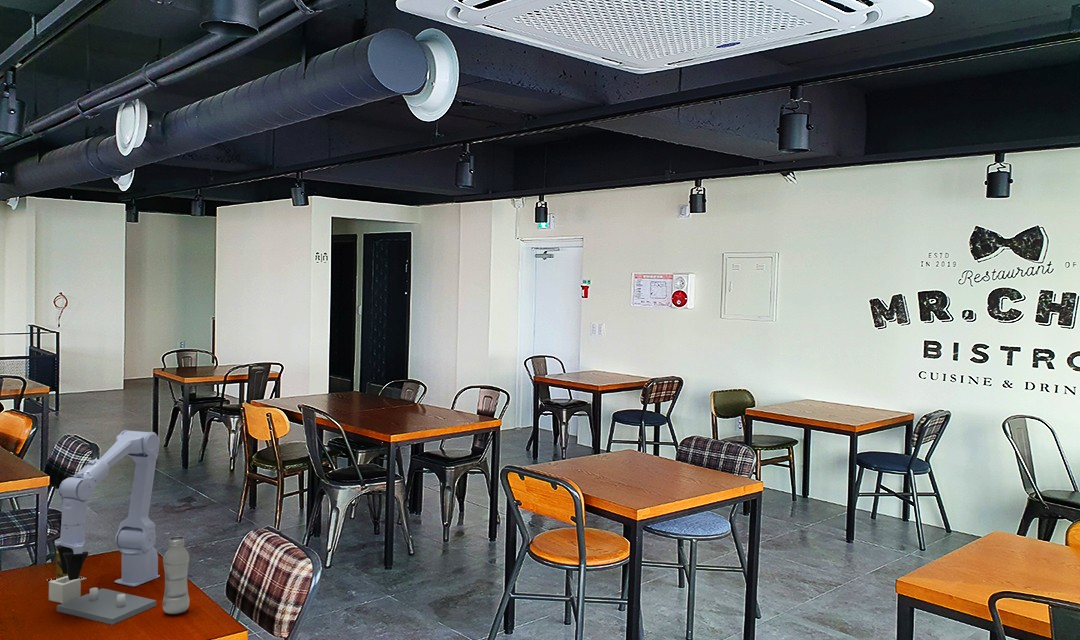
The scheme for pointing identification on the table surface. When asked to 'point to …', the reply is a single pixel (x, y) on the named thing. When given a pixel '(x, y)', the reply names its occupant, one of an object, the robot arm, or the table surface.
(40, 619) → the table surface
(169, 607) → the plastic bottle
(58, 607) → the pin board
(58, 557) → the condiment
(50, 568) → the table surface
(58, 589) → the collar
